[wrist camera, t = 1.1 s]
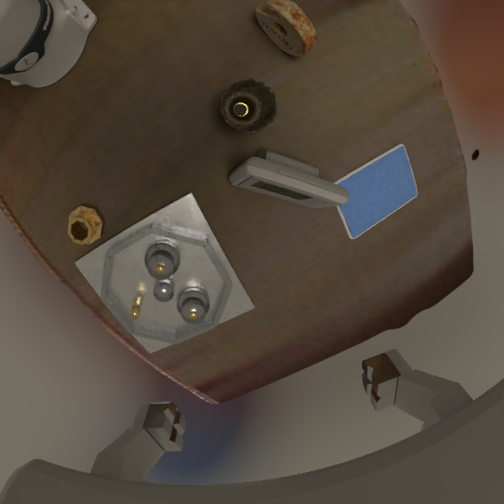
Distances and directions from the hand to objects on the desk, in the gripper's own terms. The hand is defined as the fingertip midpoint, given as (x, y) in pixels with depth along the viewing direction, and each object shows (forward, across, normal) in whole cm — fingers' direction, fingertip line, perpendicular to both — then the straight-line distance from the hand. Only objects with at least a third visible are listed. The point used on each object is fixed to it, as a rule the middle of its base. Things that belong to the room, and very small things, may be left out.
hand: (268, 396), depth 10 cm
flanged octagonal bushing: (+34, +26, -8) cm, 43 cm away
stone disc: (+34, -12, -30) cm, 47 cm away
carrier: (+37, +17, +7) cm, 42 cm away
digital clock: (+38, -6, -6) cm, 39 cm away
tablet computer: (+42, -26, 0) cm, 49 cm away
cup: (+35, -3, -18) cm, 40 cm away
